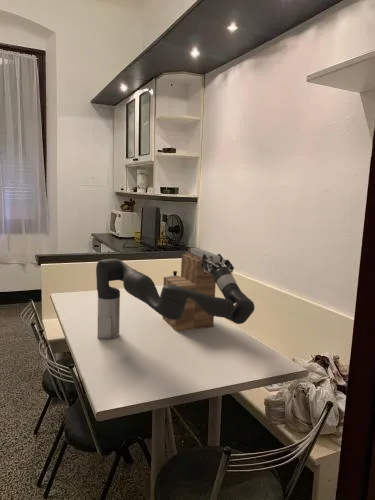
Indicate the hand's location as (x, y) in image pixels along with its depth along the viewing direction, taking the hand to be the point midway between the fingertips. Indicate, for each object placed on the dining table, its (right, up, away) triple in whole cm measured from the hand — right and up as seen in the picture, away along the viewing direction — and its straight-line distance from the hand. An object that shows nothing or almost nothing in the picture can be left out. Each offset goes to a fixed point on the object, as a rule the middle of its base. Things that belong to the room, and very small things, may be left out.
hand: (210, 255), depth 174 cm
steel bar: (-3, -2, +6) cm, 7 cm away
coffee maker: (-18, -28, +46) cm, 57 cm away
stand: (-10, -33, +15) cm, 37 cm away
